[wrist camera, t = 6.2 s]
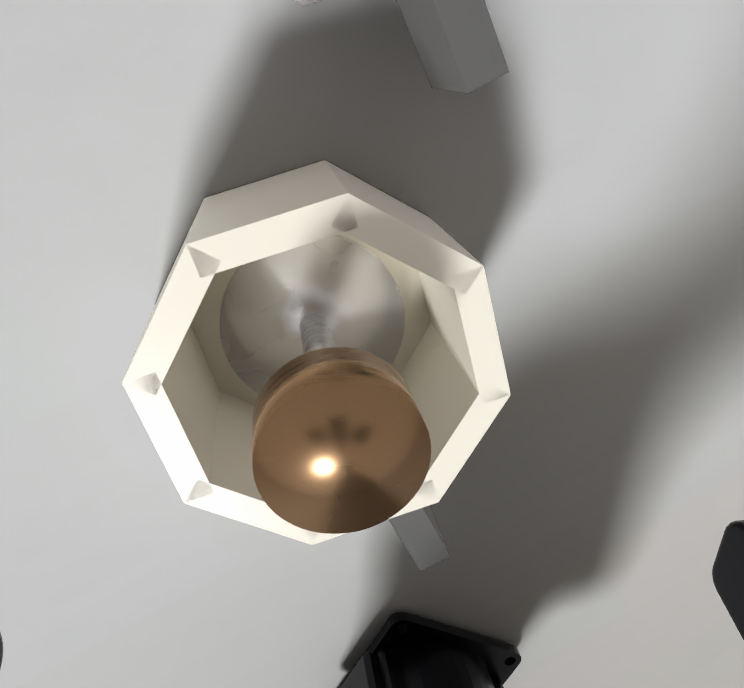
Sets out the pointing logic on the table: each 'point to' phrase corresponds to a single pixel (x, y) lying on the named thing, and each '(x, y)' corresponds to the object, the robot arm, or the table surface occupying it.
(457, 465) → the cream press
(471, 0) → the grey octagonal hollow piece
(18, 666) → the table surface
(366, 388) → the brown and grey doorknob
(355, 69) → the table surface
